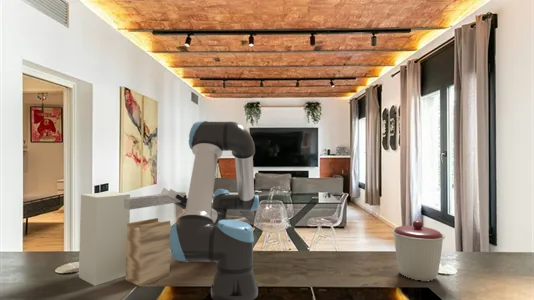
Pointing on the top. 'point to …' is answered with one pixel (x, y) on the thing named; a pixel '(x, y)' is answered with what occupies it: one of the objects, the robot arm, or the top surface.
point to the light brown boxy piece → (147, 251)
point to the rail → (149, 201)
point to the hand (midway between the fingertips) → (166, 191)
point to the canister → (418, 251)
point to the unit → (103, 237)
